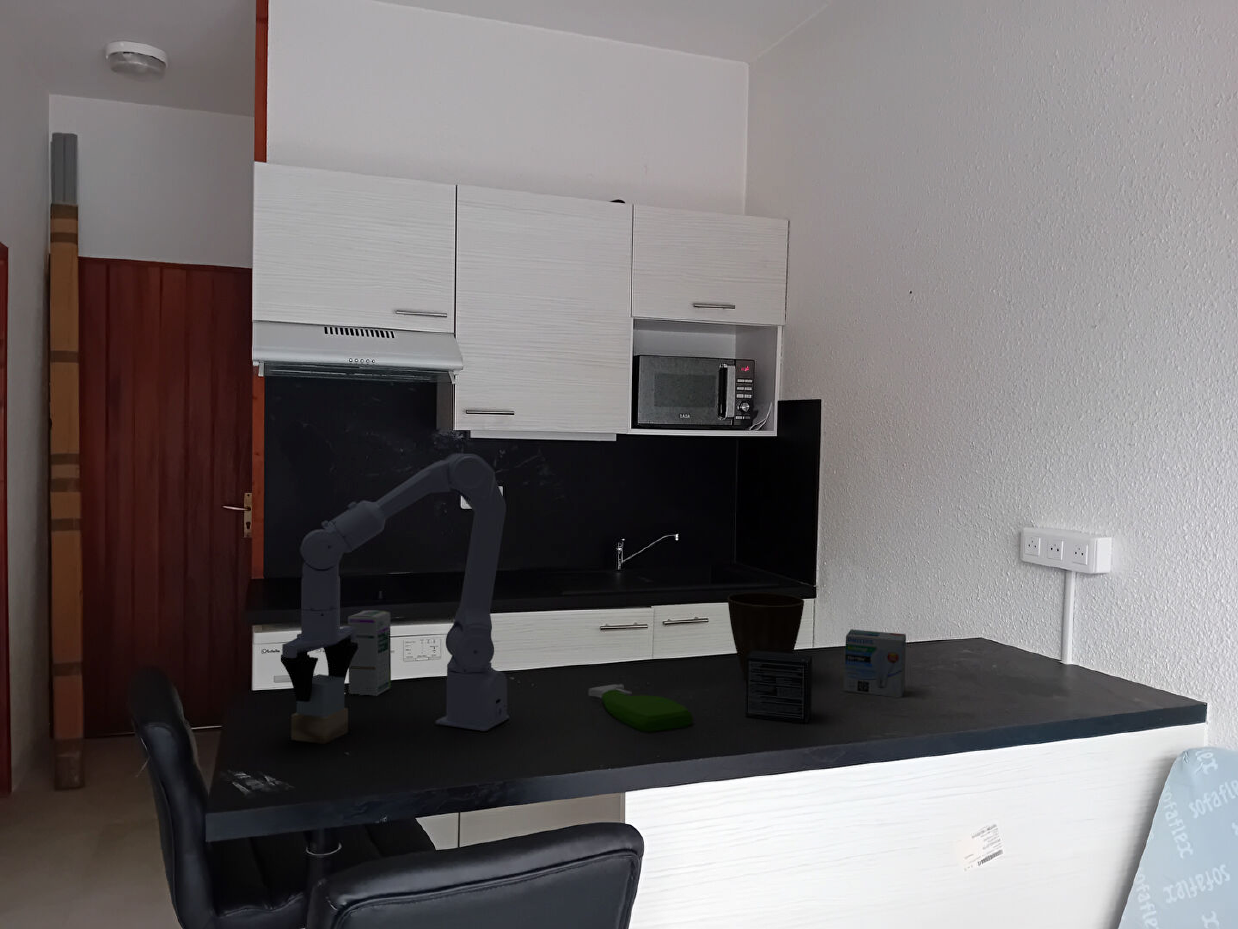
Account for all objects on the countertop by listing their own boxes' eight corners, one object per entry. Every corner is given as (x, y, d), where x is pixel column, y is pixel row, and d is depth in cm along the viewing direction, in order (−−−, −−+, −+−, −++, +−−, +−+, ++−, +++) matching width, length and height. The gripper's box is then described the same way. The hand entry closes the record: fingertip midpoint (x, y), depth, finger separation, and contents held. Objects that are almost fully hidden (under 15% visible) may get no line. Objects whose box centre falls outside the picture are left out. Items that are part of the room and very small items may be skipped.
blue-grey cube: (344, 709, 145) (344, 677, 145) (322, 718, 140) (323, 685, 140) (318, 705, 147) (319, 674, 147) (296, 713, 142) (297, 681, 142)
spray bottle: (640, 736, 147) (575, 700, 168) (698, 727, 152) (627, 693, 173) (640, 718, 147) (575, 684, 168) (698, 709, 152) (627, 677, 173)
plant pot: (817, 679, 183) (818, 598, 182) (776, 694, 172) (778, 608, 171) (753, 666, 193) (754, 590, 192) (711, 679, 181) (712, 598, 181)
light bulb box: (843, 692, 174) (844, 634, 174) (848, 683, 180) (849, 628, 180) (902, 698, 170) (903, 640, 170) (905, 689, 176) (906, 633, 176)
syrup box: (377, 696, 166) (378, 616, 166) (347, 694, 167) (347, 614, 167) (391, 688, 172) (392, 610, 171) (362, 686, 173) (362, 609, 172)
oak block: (347, 733, 146) (348, 708, 146) (324, 745, 140) (325, 719, 140) (315, 729, 147) (315, 704, 147) (291, 740, 142) (291, 714, 142)
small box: (812, 714, 159) (813, 653, 159) (807, 725, 153) (808, 662, 153) (751, 707, 163) (752, 648, 162) (744, 718, 156) (745, 656, 156)
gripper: (331, 598, 152) (330, 680, 152) (266, 613, 138) (265, 703, 138) (366, 601, 149) (365, 685, 149) (303, 617, 135) (303, 709, 136)
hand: (320, 694), depth 144 cm, fingers open, 7 cm apart
